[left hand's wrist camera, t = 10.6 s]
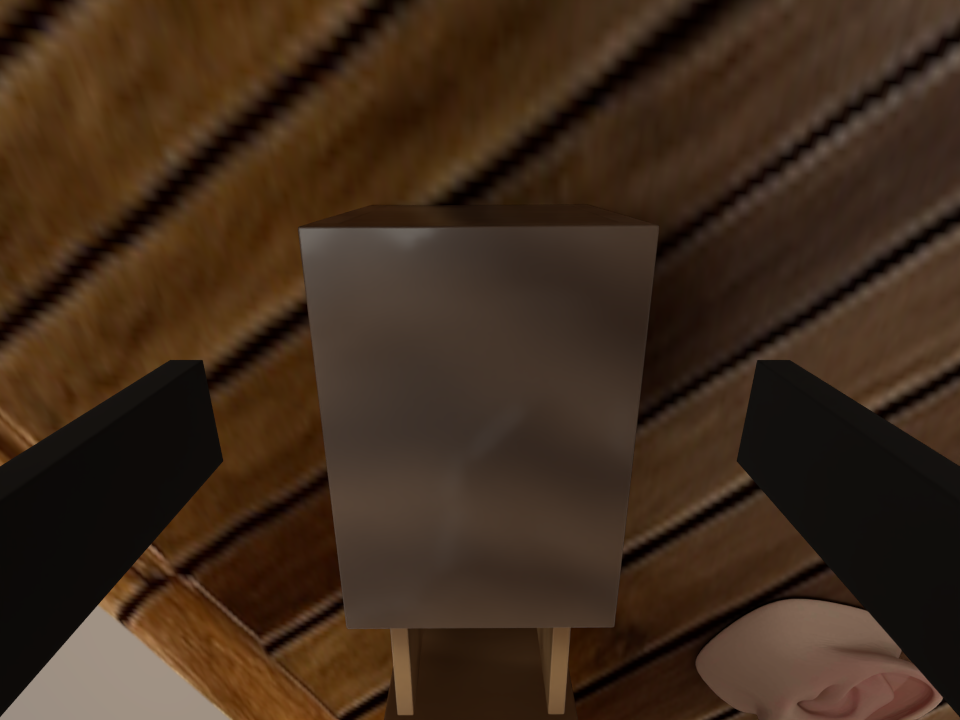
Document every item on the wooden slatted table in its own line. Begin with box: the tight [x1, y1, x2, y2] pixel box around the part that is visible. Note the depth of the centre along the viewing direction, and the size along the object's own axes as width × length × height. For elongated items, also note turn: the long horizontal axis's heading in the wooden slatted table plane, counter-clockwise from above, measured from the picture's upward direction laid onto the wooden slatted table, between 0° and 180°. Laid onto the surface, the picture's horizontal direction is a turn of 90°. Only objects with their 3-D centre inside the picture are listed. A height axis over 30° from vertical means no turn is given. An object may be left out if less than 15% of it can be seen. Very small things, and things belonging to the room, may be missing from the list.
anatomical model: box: [696, 599, 943, 720], centre depth 34 cm, size 13×4×12 cm
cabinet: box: [298, 205, 659, 629], centre depth 24 cm, size 16×11×11 cm
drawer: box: [384, 627, 578, 720], centre depth 28 cm, size 20×10×9 cm, turn 0°
